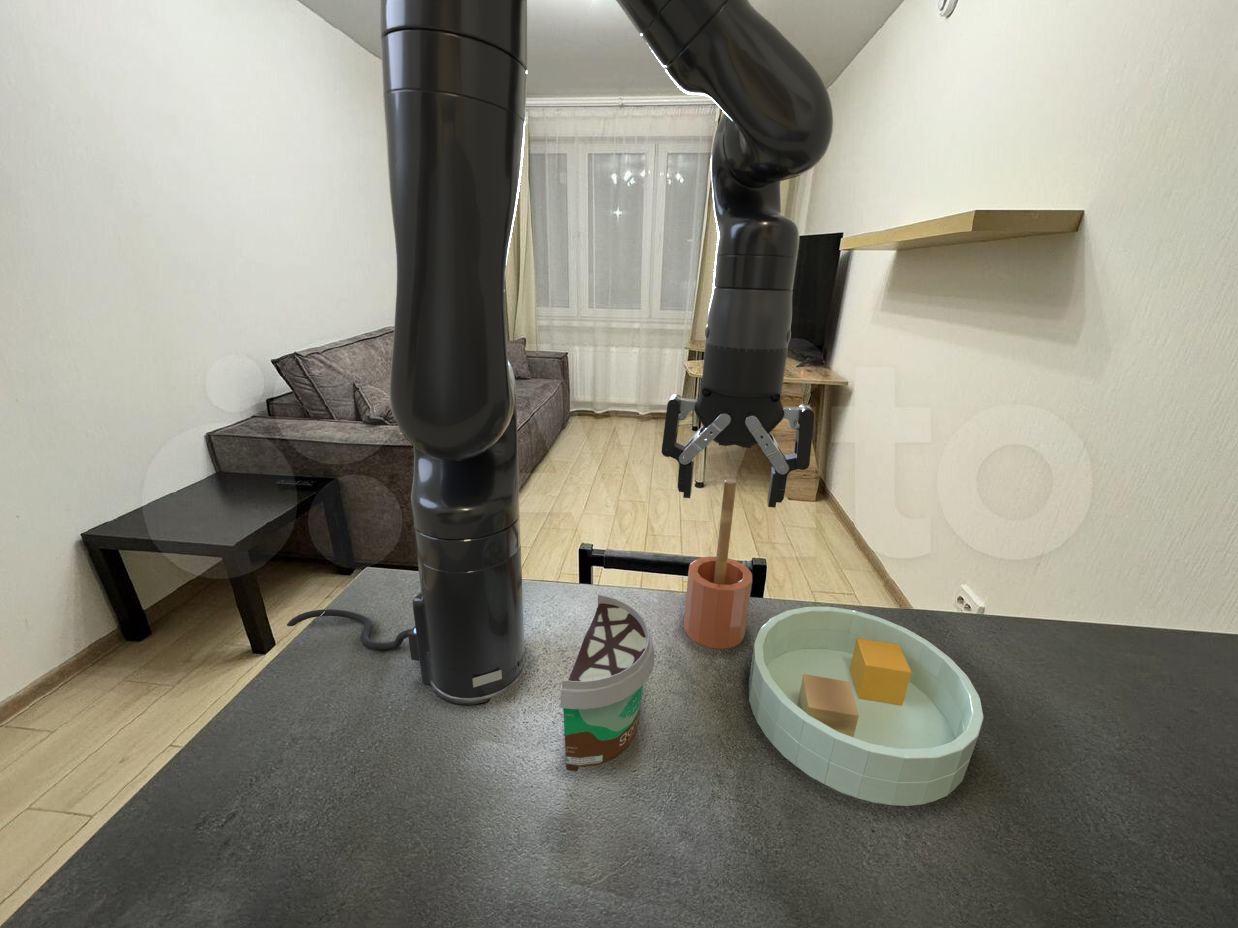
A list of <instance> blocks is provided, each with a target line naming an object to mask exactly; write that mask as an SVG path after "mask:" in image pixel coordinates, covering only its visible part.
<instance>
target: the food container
mask: <svg viewBox="0 0 1238 928" xmlns="http://www.w3.org/2000/svg"><path fill="white" fill-rule="evenodd" d="M578 651H579V652H578V654H577V657H576V659H575V662H574V665H573V667H572V669H571V672H570V674H569V677H568V680H566V679H562V680H561V690H560V702H559V708H560V709H562V711H563V731H564V748H565V750H564V753H565V770H567V771H572V772H573V771H574V772H575V771H576V772H578V770H579V768H584V767H591V766H599V765H602V764H604V763H607V762H609V761H611V760H614V759H617V757H619V756H620V755H621V754H622V753H624V752H625V750H627V749H628V748H629V747H630V745H631V744H632V742H633V741H634V739H635V737H636V733H637V729H638V723H639V717H640V710H641V704H642V703H641V702H642V697H643V696H642V695H643V689H644V684H645V683H646V682H647V681H648V679H649V678H650V676H651V674H652V673H653V669H654V666H655V659H656V656H655V655H656V654H655V648H654V644H653V637H652V634H651V632H650V629H649V627H648V625H647V623H646V621H645V619H644V618H643V617H642V615H641V614H640V613H639V612H638V611H637V610H636V609H634V607H632V606H631V605H629V604H628V603H625V602H623V601H621V600H619V599H616V598H614V597H610V596H607V595H602V594H598V595H597V607H596V611H595V614H594V616H593V619H592V621H591V623H590V625H589V627H588V629H587V631H586V633H585V635H584V637H583V641H582V643H581V645H580V649H579V650H578Z"/></svg>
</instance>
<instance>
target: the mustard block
mask: <svg viewBox="0 0 1238 928" xmlns="http://www.w3.org/2000/svg"><path fill="white" fill-rule="evenodd" d="M850 673H851V676H852V679H853V683H854V686H855V689H856V693H857V696H858V698H859V699H865V700H871V701H877V702H883V703H889V704H895V705H901V706H902V705H903V702H904V698H905V695H906V691H907V688H908V684H909V680H910V677H911V673H912V672H911V670H910V667H909V665H908V663H907V661H906V659H905V656H904V654H903V652H902V650H901V648H900V646H899V644H892V643H885V642H879V641H872V640H865V639H858V638H857V640H856V644H855V648H854V653H853V657H852V662H851V666H850Z"/></svg>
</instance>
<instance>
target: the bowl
mask: <svg viewBox="0 0 1238 928" xmlns="http://www.w3.org/2000/svg"><path fill="white" fill-rule="evenodd" d="M857 638H858V639H865V640H872V641H879V642H885V643H892V644H899V646H900V648H901V650H902V652H903V654H904V656H905V659H906V661H907V663H908V665H909V667H910V670H911V672H912V673H911V677H910V680H909V684H908V688H907V691H906V695H905V698H904V702H903V705H902V706H901V705H895V704H889V703H883V702H877V701H871V700H865V699H859V698H858V696H857V693H856V689H855V686H854V683H853V679H852V676H851V673H850V666H851V662H852V657H853V653H854V648H855V644H856V640H857ZM803 674H806V675H812V676H818V677H824V678H830V679H836V680H842V681H848V682H850V686H851V690H852V693H853V697H854V700H855V704H856V707H857V711H858V714H859V718H858V722H857V726H856V730H855V734H854V738H853V737H851V736H848V735H845V734H843V733H840V732H838V731H836V730H834V729H832V728H831V727H829V726H827V725H825V724H823V723H822V722H820V721H818V720H816V719H815V718H813V717H811V716H809V715H808V714H807V713H805V712H804V711H803V710H802V709H801V708H799V707H798V706H797V704H798V698H799V693H800V688H801V683H802V677H803ZM748 703H749V705H750V708H751V711H752V714H753V716H754V718H755V721H756V723H757V725H758V726H759V728H760V730H762V733H763V735H764V736H765V737H766V738H767V739H768V741H769V742H770V743H771V744H772V746H773V747H774V748H775V749H776V750H777V751H778V752H779V753H780V754H781V755H782V756H783V757H784V758H786V759H787V760H788V761H789V762H790V763H791V764H792V765H794V766H795V767H796V768H798V769H799V770H801V771H802V772H803V773H805V774H806V775H807V776H809V777H810V778H812V779H814V780H816V781H817V782H819V783H820V784H822V785H825V786H827V787H828V788H831V789H833V790H834V791H837V792H839V793H842V794H844V795H847V796H849V797H852V798H855V799H858V800H861V801H866V802H870V803H873V804H881V805H886V806H898V807H899V806H901V807H910V806H921V805H926V804H929V803H933V802H935V801H938V800H941V799H943V798H946V797H947V796H949V794H951V793H952V792H953V791H954V790H955V789H956V788H957V787H958V786H959V785H960V784H961V783H963V781H964V778H965V775H966V772H967V770H968V767H969V764H970V762H971V758H972V755H973V753H974V750H975V747H976V744H977V740H978V739H979V735H980V732H981V729H982V726H983V722H984V718H985V717H984V713H983V707H982V701H981V698H980V695H979V693H978V691H977V690H976V688H975V686H974V685H973V683H972V682H971V679H970V677H969V676H968V675H967V674H966V673H965V672H964V671H963V670H962V669H961V668H960V667H959V665H958V664H957V663H956V662H955V661H954V660H953V659H952V658H951V657H950V656H949V655H947V654H946V653H944V652H943V651H942V650H940V649H939V648H938V647H936V646H935V645H934V644H933V643H931V642H930V641H928V640H927V639H925V638H924V637H922V636H920V635H918V634H917V633H915V632H913V631H912V630H909V629H908V628H906V627H903V626H902V625H899V624H897V623H894V622H892V621H889V620H887V619H884V618H882V617H879V616H877V615H873V614H869V613H866V612H862V611H858V610H854V609H848V608H841V607H834V606H803V607H799V608H793V609H788V610H785V611H783V612H780V613H779V614H777V615H774V616H772V617H771V618H769V620H768V621H766V623H764V624H763V625H762V626H761V628H760V629H759V631H758V633H757V636H756V638H755V640H754V642H753V650H752V656H751V664H750V670H749V677H748Z"/></svg>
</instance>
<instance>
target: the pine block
mask: <svg viewBox="0 0 1238 928" xmlns="http://www.w3.org/2000/svg"><path fill="white" fill-rule="evenodd" d="M797 706H798V707H799V708H801V709H802V710H803V711H804V712H805V713H807V714H808V715H809V716H811V717H813V718H815V719H816V720H818V721H820V722H822V723H823V724H825V725H827V726H829V727H831V728H832V729H834V730H836V731H838V732H840V733H843V734H845V735H848V736H851V737H853V738H854V734H855V730H856V726H857V722H858V718H859V714H858V711H857V707H856V704H855V700H854V697H853V693H852V690H851V686H850V682H848V681H842V680H836V679H830V678H824V677H818V676H812V675H806V674H803V677H802V683H801V688H800V693H799V698H798V704H797Z"/></svg>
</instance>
